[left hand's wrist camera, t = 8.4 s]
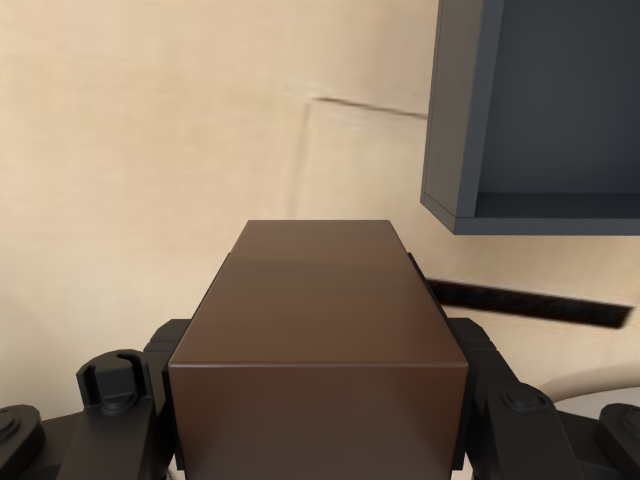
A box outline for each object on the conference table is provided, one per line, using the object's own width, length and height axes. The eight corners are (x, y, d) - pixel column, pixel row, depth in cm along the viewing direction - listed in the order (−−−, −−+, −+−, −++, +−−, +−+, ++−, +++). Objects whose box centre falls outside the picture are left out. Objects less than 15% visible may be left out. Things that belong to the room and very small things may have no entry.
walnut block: (382, 340, 16) (439, 564, 8) (255, 340, 16) (197, 565, 8) (389, 219, 14) (470, 364, 7) (247, 219, 14) (164, 363, 7)
